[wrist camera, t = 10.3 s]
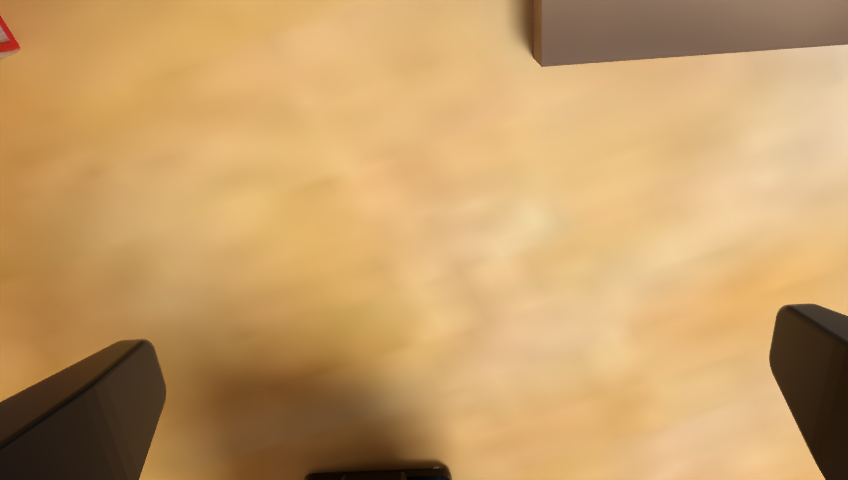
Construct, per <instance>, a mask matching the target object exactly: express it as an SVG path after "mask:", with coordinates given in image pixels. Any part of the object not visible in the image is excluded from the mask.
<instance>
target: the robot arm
mask: <svg viewBox="0 0 848 480" xmlns="http://www.w3.org/2000/svg"><path fill="white" fill-rule="evenodd" d="M769 360H770V367H771V370H772V373H773V375H774V377H775V379H776V382H777V384H778V386H779V388H780V390H781V392H782V394H783V396H784V398H785V400H786V402H787V405H788V407H789V409H790V411H791V413H792V415H793V417H794V419H795V421H796V423H797V425H798V427H799V430H800V432H801V434H802V436H803V438H804V440H805V442H806V444H807V446H808V448H809V450H810V452H811V454H812V456H813V458H814V460H815V462H816V464H817V466H818V468H819V469H820V471H821V473H822V474H823V476H824V478H825V479H826V480H848V316H846V315H843V314H841V313H838V312H835V311H832V310H830V309H827V308H824V307H822V306H819V305H816V304H792V305H784V306H783V307H782V308H780V309H779V311H778V313H777V316H776V321H775V327H774V332H773V338H772V343H771V349H770V356H769ZM165 398H166V386H165V381H164V378H163V375H162V372H161V368H160V365H159V362H158V358H157V355H156V352H155V349H154V346H153V345H152V343H151V342H149V341H148V340H146V339H137V340H122V341H118V342H116V343H114V344H112V345H110V346H108V347H107V348H105V349H103V350H101V351H99V352H97V353H95V354H93V355H91V356H89V357H87V358H85V359H83V360H81V361H79V362H77V363H75V364H74V365H72V366H70V367H68V368H66V369H64V370H62V371H60V372H58V373H56V374H54V375H52V376H50V377H48V378H46V379H44V380H42V381H41V382H39V383H37V384H35V385H33V386H31V387H29V388H27V389H25V390H23V391H21V392H19V393H17V394H15V395H13V396H11V397H10V398H8V399H6V400H4V401H2V402H0V480H139V477H140V474H141V471H142V468H143V465H144V462H145V459H146V456H147V453H148V450H149V448H150V445H151V442H152V439H153V436H154V433H155V430H156V427H157V424H158V421H159V418H160V415H161V412H162V409H163V406H164V403H165ZM304 480H452V477H451V474H450V472H449V471H447V470H445V469H441V468H435V469H411V470H386V471H362V472H338V473H313V474H309V475H307V476H306V477H305V478H304Z"/></svg>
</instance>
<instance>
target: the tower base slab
mask: <svg viewBox="0 0 848 480" xmlns="http://www.w3.org/2000/svg"><path fill="white" fill-rule="evenodd" d="M845 44H848V0H533V58H534V59H535V60H536V61H537V62H538V63H539V64H540V65H541V66H542V67H544V66H558V65H571V64H585V63H599V62H613V61H626V60H640V59H654V58H667V57H681V56H695V55H708V54H722V53H736V52H749V51H763V50H777V49H790V48H804V47H818V46H831V45H845Z"/></svg>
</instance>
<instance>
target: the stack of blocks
mask: <svg viewBox="0 0 848 480" xmlns="http://www.w3.org/2000/svg"><path fill="white" fill-rule="evenodd" d="M19 50H20V46H19V45H18V43H17V41H16V40H15V38H14V37H13V35H12V34H11V32H10V30H9V29H8V27H7V26H6V24H5V23H4V21H3V19H2V18H1V16H0V60H2V59H4V58H6V57H8V56H10V55H12V54H14V53H17V52H18V51H19Z"/></svg>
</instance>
